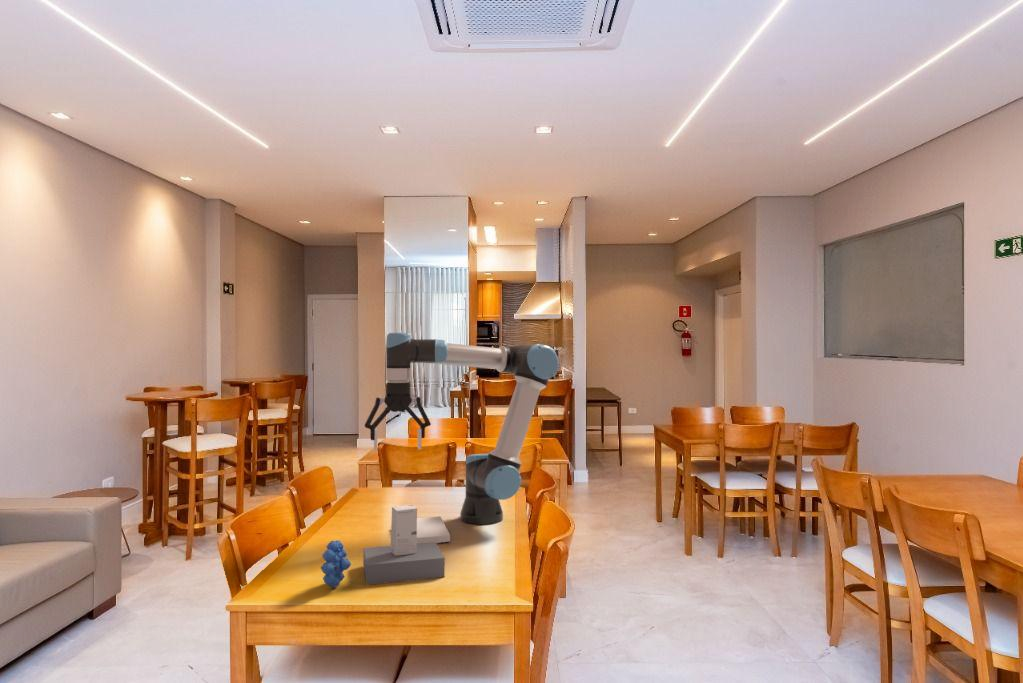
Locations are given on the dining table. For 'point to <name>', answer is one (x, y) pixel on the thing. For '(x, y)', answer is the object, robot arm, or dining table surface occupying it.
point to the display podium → (403, 564)
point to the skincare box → (404, 530)
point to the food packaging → (431, 530)
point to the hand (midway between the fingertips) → (397, 449)
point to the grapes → (334, 563)
